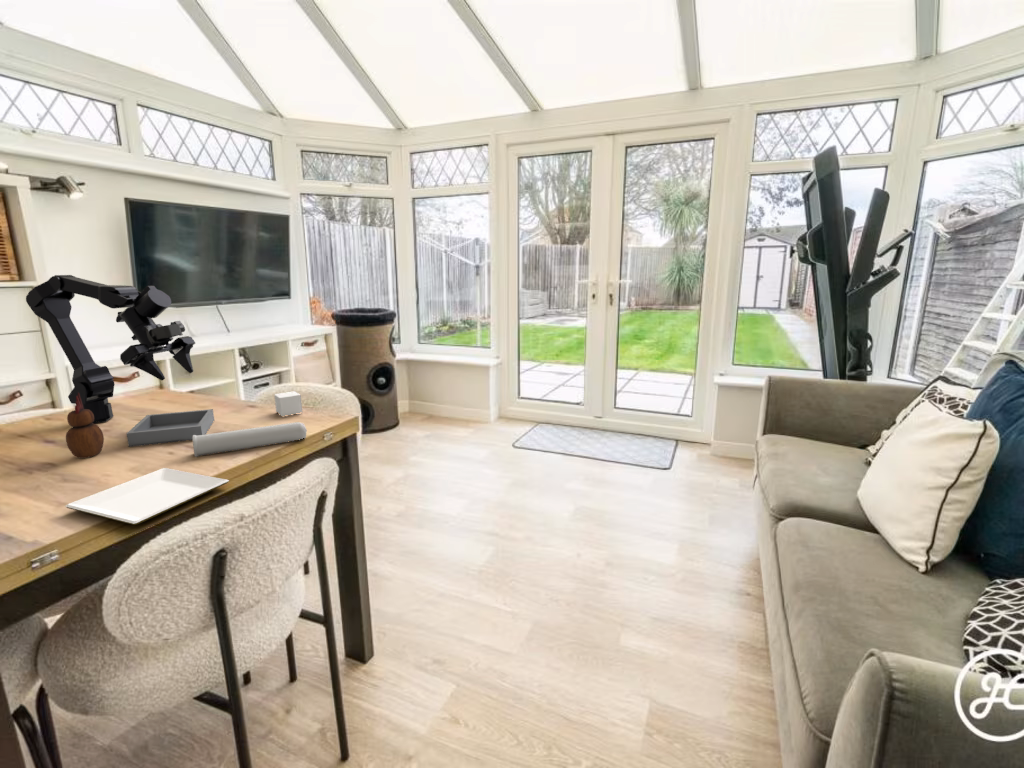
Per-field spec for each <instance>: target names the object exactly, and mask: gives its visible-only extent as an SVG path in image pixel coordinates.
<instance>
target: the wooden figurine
mask: <svg viewBox="0 0 1024 768" xmlns="http://www.w3.org/2000/svg"><path fill="white" fill-rule="evenodd" d="M66 419H67V423H68V425H69V426H70V427H71V428H69V429H68V430H67V432H66V434H65V443H66V446H67V448H68V450H69V451H70V453H71V454H72V456H74V457H76V458H77V459H87V458H92V457H95V456H96V455H99V454H100V452H101V451H102V449H103V447H104V442H105V441H104V440H105V437H104V434H103V430H102V429H101V427H100V426H99V425H97V423H92V422H93V421H94V415H93V413H92V411H90V410H89V409H84V408H83V404H82V401H81V397H80V394H79V393H78V396H76V404H75V405H74V410H72V411H70V412H68V414H67V418H66Z"/></svg>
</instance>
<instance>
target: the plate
mask: <svg viewBox="0 0 1024 768" xmlns="http://www.w3.org/2000/svg"><path fill="white" fill-rule="evenodd" d="M229 481H230V480H229V479H225V478H221V477H220V478H219V477H215V476H209V475H203V474H199V473H194V472H190V471H189V472H188V471H183V470H178V469H173V468H168V467H162V468H160V469H158V470H155V471H152V472H149V473H147V474H144V475H141V476H139V477H136V478H133V479H131V480H128V481H126V482H123V483H120V484H118V485H114V486H113V487H109V488H107V489H105V490H101V491H99V492H95V493H94V494H91V495H88V496H85V497H83V498H80V499H77V500H75V501H72V502H70V503H67V504H66V505H65V508H67V509H71V510H74V511H77V512H82V513H86V514H88V515H89V514H90V515H93V516H98V517H101V518H105V519H108V520H114V521H117V522H121V523H125V524H128V525H133V526H136V525H139V524H141V523H144V522H146V521H148V520H150V519H152V518H155V517H157V516H160V515H161V514H163V513H166V512H167V511H169V510H172V509H175V508H177V507H178V506H179V507H180V506H181V505H183V504H185V503H187V502H189V501H192V500H194V499H197V498H199V497H201V496H203V495H205V494H208V493H209V492H211V491H214V490H215V489H218V488H221V487H222V486H224V485H227V483H229Z"/></svg>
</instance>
